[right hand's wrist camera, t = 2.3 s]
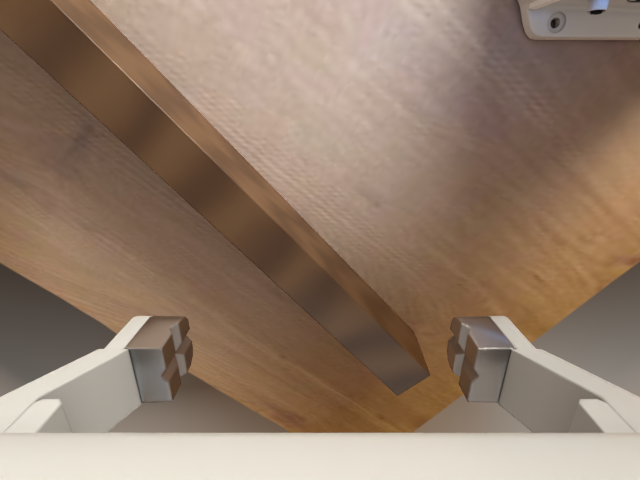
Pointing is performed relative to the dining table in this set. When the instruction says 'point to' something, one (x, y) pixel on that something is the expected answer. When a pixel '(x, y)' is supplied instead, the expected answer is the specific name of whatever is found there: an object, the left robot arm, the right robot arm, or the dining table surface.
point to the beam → (211, 177)
